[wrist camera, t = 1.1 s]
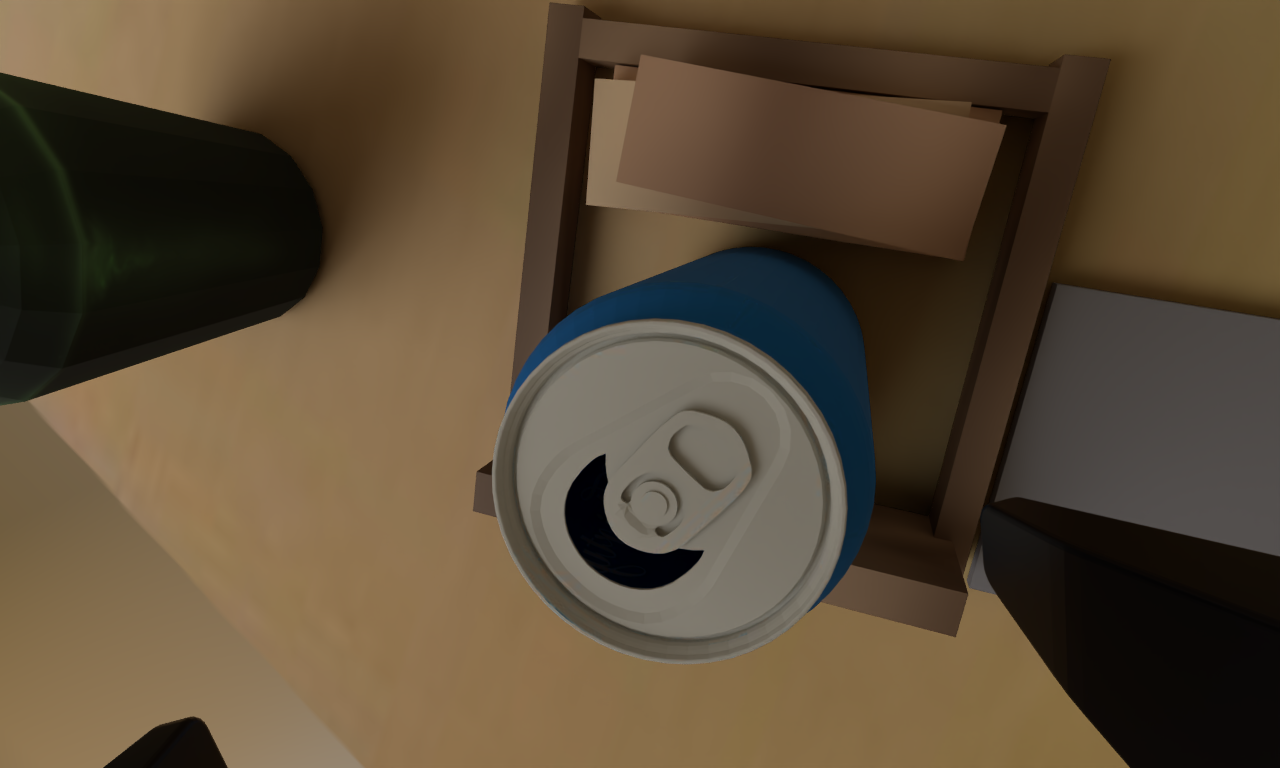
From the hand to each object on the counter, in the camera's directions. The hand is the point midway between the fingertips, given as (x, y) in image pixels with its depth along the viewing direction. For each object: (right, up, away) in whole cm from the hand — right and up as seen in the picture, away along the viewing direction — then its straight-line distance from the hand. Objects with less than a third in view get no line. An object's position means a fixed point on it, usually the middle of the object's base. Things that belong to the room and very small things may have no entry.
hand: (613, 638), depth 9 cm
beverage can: (+4, +4, +15) cm, 16 cm away
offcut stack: (+4, +9, +13) cm, 16 cm away
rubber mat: (+15, 0, +12) cm, 19 cm away
